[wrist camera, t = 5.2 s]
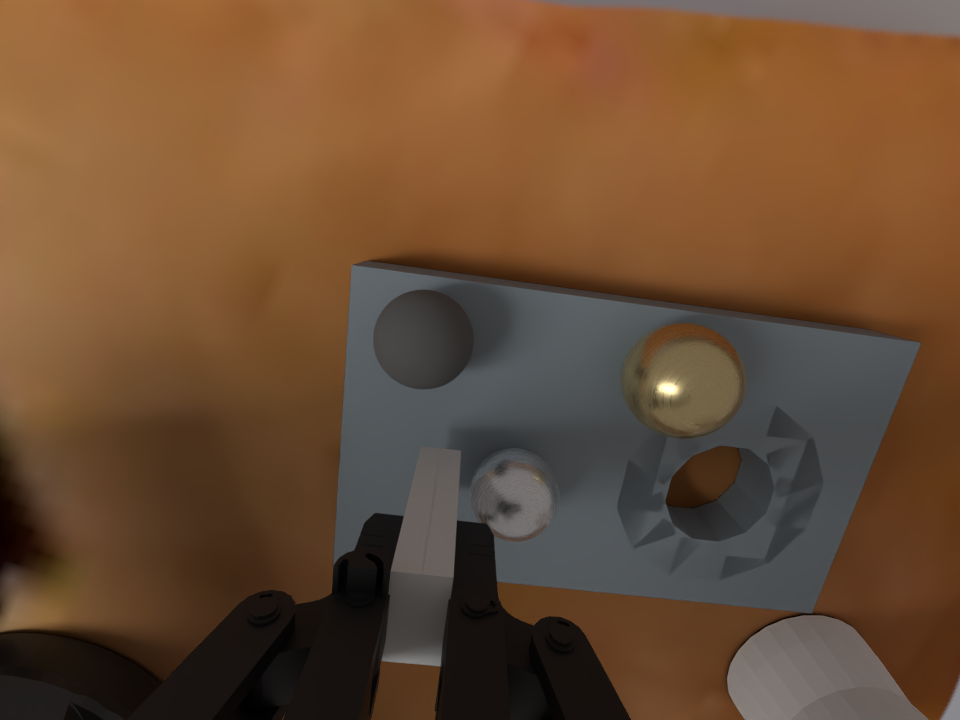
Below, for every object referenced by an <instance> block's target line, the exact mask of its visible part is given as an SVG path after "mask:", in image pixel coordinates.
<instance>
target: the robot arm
mask: <svg viewBox="0 0 960 720" xmlns="http://www.w3.org/2000/svg"><path fill="white" fill-rule="evenodd" d="M460 459H461V450H452V449H444V448H435V447H426V446H421V448H420V453H419V457H418V461H417V465H416V469H415V473H414V477H413V481H412V485H411V489H410V494H409V498H408V502H407V506H406V510H405V514H404V516H400V515H391V514H382V513H374V514H373V515H372V516H371V517H370V518H369V519H368V520H366V521H365V523H364V525H363V528H362V531H361V533H360V536H359V539H358V541H357V545H356V547H355V549H354V551H351V552H347V553H346V554H344V555H342V556H341V557H339V558H338V560H337V561H336V562H335V564H334V568H333V586H332V594H330V595H329V596H327V597H325V598H323V599H320V600H317V601H313V602H308V603H302V604H296V605H295V602H294V600H293V599H292V597H291V596H290V595H288V594H286V593H284V592H282V591H275V590H269V591H263V592H259V593H256V594H254V595H251V596H249V597H247V598H246V599H245V600H244V601H242V602H241V603H240V604H238V605H237V607H236V608H235V609H234V610H233V611H232V612H231V613H230V614H229V615H228V616H227V617H226V618H225V619H224V620H223V621H222V622H221V623H220V624H219V625H218V626H217V627H216V628H215V629H214V630H213V631H212V632H211V633H210V634H209V635H208V636H207V637H206V638H205V639H204V641H203V642H202V643H201V644H200V645H199V646H198V647H197V648H196V649H195V650H194V651H193V652H192V653H191V654H190V655H189V656H188V657H187V658H186V659H185V660H184V661H183V662H182V663H181V664H180V665H179V666H178V667H177V668H176V669H175V670H174V671H173V672H172V673H171V675H170V676H169V677H168V678H167V679H166V680H165V681H164V682H163V683H162V684H160V683H159V682H158V681H157V680H156V679H154V678H153V677H152V676H150V675H149V674H148V673H147V672H145V671H144V670H142V669H141V668H139V667H138V666H136V665H135V664H133V663H131V662H130V661H128V660H126V659H124V658H122V657H120V656H118V655H116V654H114V653H112V652H110V651H108V650H105V649H103V648H100V647H97V646H95V645H92V644H89V643H85V642H82V641H79V640H75V639H70V638H66V637H60V636H54V635H46V634H33V633H16V634H4V635H0V720H282V718H283V716H284V715H285V717H284V720H371V717H372V712H373V708H374V703H375V698H376V693H377V688H378V683H379V675H380V665H381V660H382V661H387V662H398V663H409V664H420V665H431V666H441V668H440V676H439V683H438V690H437V697H436V705H435V711H436V717H435V720H631V719H630V717H629V715H628V713H627V711H626V709H625V708H624V706H623V704H622V702H621V700H620V698H619V697H618V695H617V693H616V691H615V689H614V687H613V685H612V684H611V682H610V680H609V678H608V676H607V674H606V672H605V671H604V669H603V667H602V665H601V663H600V661H599V659H598V658H597V656H596V654H595V652H594V650H593V648H592V646H591V645H590V643H589V641H588V639H587V637H586V636H585V634H584V633H583V632H582V630H581V629H580V628H579V627H578V626H576V625H575V624H574V623H572V622H571V621H569V620H566V619H564V618H561V617H551V616H549V617H546V618H543V619H540V620H539V621H538V622H537V623H536V624H535V625H534V626H533V625H530V624H527V623H525V622H522V621H520V620H518V619H516V618H514V617H513V616H511V615H510V614H509V613H507V612H506V610H505V609H504V608H503V607H502V605H501V602H500V601H499V598H498V592H497V576H496V561H495V549H494V547H495V545H494V534H493V533H492V531H491V530H490V528H489V526H488V525H487V524H485V523H476V522H467V521H458V520H457V510H458V493H459V476H460ZM285 713H286V714H285Z"/></svg>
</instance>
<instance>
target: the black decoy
mask: <svg viewBox="0 0 960 720" xmlns="http://www.w3.org/2000/svg"><path fill="white" fill-rule="evenodd" d="M473 344H474V336H473V329H472V326H471V323H470V320H469V318H468V316H467V314H466V313H465V311H464V310H463V308H462V307H461V306H460V305H459V304H458V303H457V302H456V301H455V300H453V299H452V298H450V297H449V296H447V295H445V294H443V293H440V292H437V291H432V290H414V291H410V292H407V293H404V294H402V295H400V296H398V297H396V298H395V299H393V300H392V301H391V302H390V303H388V304H387V305H386V307H385V308H384V309H383V310H382V312H381V314H380V315H379V317H378V319H377V321H376V324H375V328H374V334H373V345H374V351H375V355H376V357H377V360H378V362H379V364H380V365H381V367H382V368H383V370H384V371H385V372H386V373H387V374H388V375H389V376H390V377H391V378H392V379H393V380H395V381H396V382H398V383H400V384H402V385H404V386H406V387H410V388H414V389H423V390H424V389H433V388H438V387H441V386H443V385H446V384H448V383H449V382H451V381H452V380H454V379H455V378H456V377H457V376H458V375H459V374H460V373H461V372H462V371H463V370H464V368H465V367H466V366H467V364H468V362H469V360H470V357H471V354H472V350H473Z"/></svg>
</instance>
